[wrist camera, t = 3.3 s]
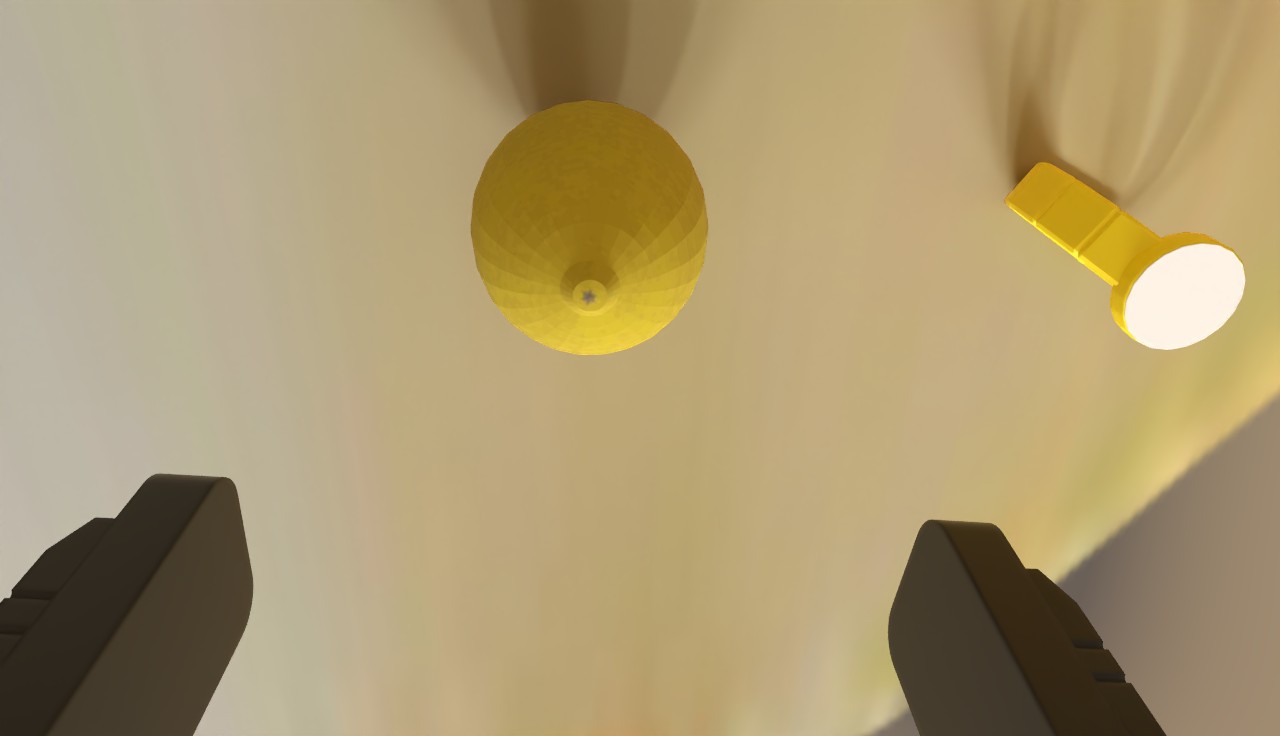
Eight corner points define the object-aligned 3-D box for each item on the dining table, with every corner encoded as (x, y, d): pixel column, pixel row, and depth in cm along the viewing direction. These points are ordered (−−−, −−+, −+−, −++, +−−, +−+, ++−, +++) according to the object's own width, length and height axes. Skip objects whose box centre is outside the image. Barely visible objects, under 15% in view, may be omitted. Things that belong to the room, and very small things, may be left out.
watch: (1163, 230, 24) (1315, 319, 19) (1091, 300, 25) (1218, 402, 20) (1029, 119, 22) (1159, 184, 17) (957, 200, 24) (1060, 284, 18)
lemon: (495, 59, 21) (448, 138, 14) (704, 87, 22) (757, 176, 15) (486, 256, 24) (443, 404, 17) (672, 276, 24) (704, 426, 17)
